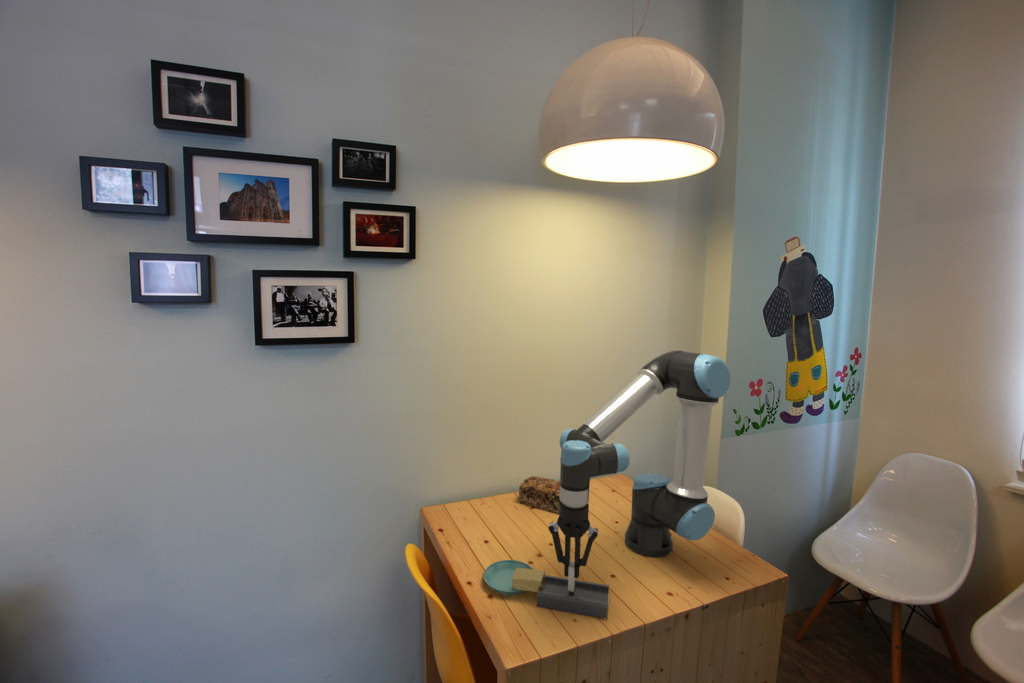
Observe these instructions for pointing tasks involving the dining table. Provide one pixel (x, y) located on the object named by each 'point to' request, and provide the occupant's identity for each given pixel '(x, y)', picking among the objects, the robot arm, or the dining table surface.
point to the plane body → (574, 597)
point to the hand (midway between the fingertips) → (571, 588)
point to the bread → (540, 493)
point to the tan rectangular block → (528, 579)
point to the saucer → (503, 576)
